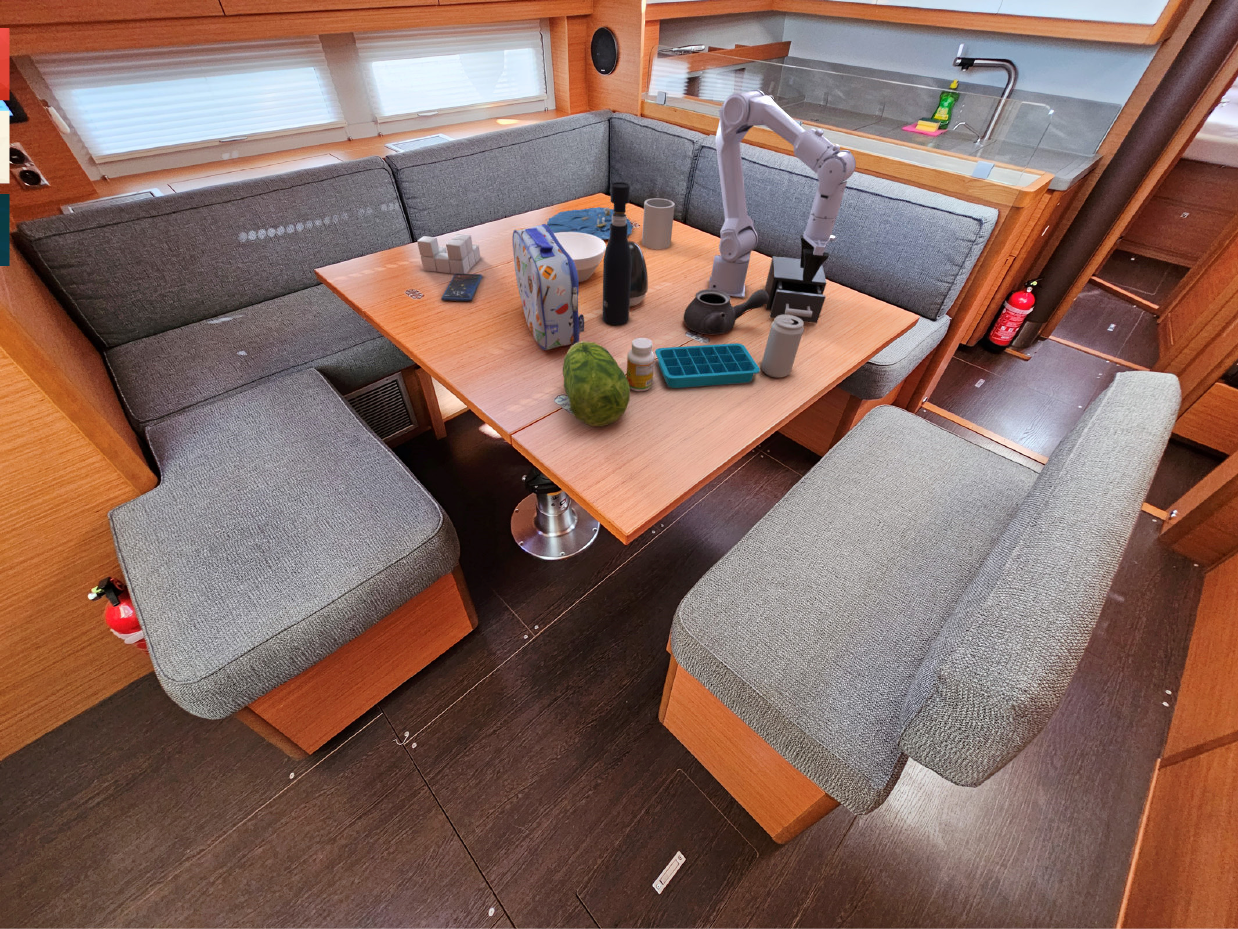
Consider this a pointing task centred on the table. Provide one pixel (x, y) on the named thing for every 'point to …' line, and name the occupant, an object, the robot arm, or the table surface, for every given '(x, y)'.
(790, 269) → the cabinet
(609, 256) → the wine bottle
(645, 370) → the supplement bottle
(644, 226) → the cup
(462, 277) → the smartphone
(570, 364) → the lettuce
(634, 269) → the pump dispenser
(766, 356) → the beverage can
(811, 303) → the drawer
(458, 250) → the puzzle cube
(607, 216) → the blue sea diorama
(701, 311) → the teapot
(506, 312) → the table surface
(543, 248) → the lunch box
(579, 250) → the bowl
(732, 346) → the ice cube tray
